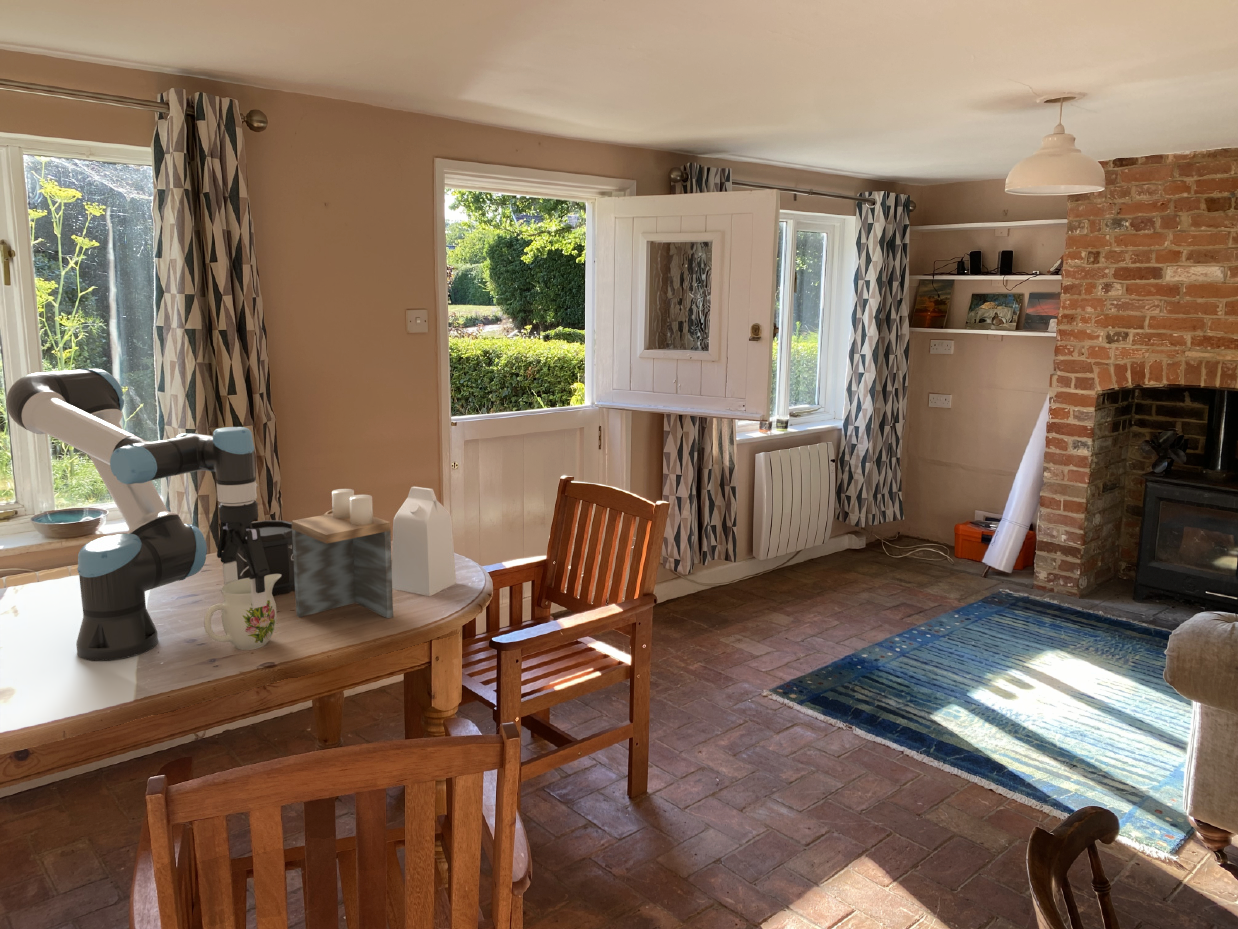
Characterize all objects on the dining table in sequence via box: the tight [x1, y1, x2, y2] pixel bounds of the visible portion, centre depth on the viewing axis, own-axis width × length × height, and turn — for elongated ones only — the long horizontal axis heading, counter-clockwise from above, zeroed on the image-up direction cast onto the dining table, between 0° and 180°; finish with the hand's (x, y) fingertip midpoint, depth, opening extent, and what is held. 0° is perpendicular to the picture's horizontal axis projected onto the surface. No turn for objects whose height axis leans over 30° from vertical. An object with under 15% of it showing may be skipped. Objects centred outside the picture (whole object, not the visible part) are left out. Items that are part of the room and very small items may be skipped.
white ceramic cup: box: [349, 494, 374, 525], centre depth 208 cm, size 5×5×6 cm
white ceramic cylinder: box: [331, 488, 355, 519], centre depth 213 cm, size 5×5×6 cm
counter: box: [291, 513, 394, 619], centre depth 211 cm, size 16×16×23 cm
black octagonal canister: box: [232, 519, 295, 597], centre depth 231 cm, size 18×18×16 cm
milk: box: [391, 486, 457, 597], centre depth 234 cm, size 12×12×26 cm
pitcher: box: [203, 574, 281, 651], centre depth 194 cm, size 11×18×14 cm, turn 144°
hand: (245, 599), depth 194 cm, fingers open, 13 cm apart
